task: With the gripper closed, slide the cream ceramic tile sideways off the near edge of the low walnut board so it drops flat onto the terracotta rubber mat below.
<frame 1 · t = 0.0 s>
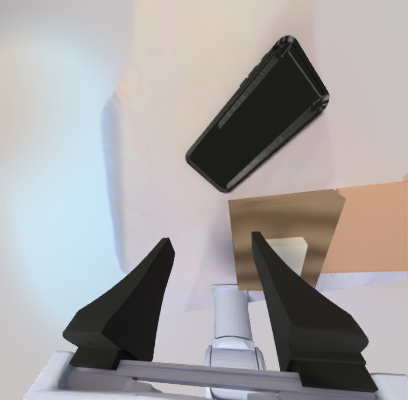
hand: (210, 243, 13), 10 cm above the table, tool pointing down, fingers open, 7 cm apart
tile: (278, 256, 24), point 2 cm above the table, touching butcher block
butcher block: (273, 244, 26), on the table
mat: (378, 233, 23), on the table
phone: (246, 131, 18), on the table
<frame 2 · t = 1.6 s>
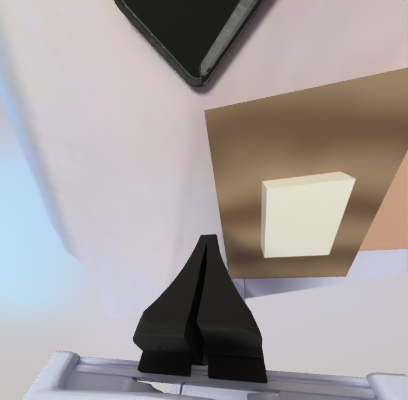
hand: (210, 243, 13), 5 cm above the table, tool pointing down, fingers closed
tile: (293, 215, 14), point 2 cm above the table, touching butcher block
butcher block: (283, 202, 16), on the table
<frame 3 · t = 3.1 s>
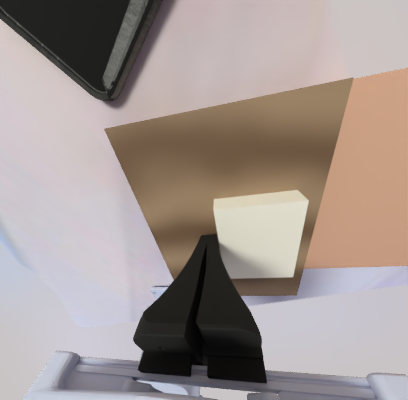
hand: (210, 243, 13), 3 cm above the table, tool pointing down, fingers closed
tile: (254, 234, 13), point 2 cm above the table, touching butcher block, gripper
butcher block: (226, 219, 15), on the table
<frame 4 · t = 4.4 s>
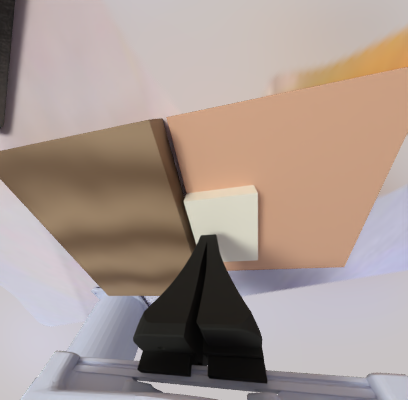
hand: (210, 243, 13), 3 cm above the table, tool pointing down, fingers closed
tile: (224, 223, 15), resting on mat
butcher block: (132, 226, 17), on the table
mat: (273, 206, 14), on the table
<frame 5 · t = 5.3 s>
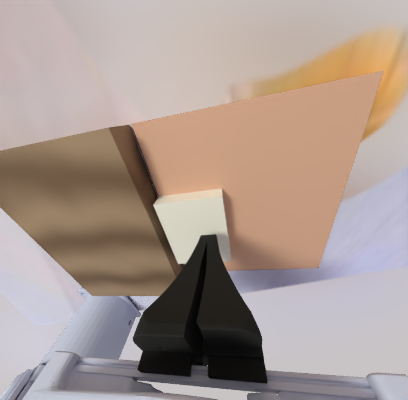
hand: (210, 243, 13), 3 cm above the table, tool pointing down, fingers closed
tile: (198, 225, 15), resting on mat
butcher block: (111, 228, 17), on the table
mat: (245, 209, 15), on the table
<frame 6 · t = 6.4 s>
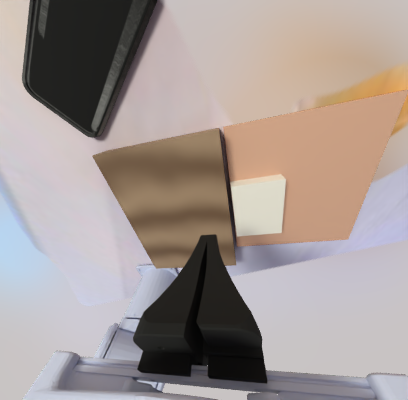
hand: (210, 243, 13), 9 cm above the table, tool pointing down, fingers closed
tile: (255, 205, 20), resting on mat
butcher block: (181, 210, 22), on the table
mat: (294, 190, 19), on the table
phone: (89, 46, 14), on the table
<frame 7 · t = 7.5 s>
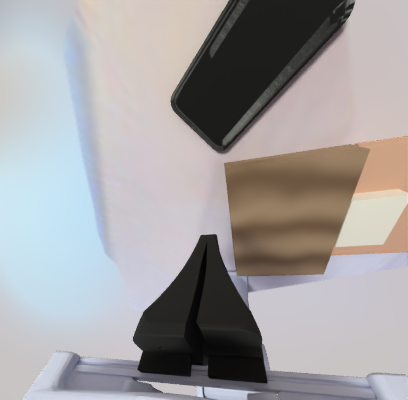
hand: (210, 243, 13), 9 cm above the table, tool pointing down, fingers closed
tile: (359, 217, 20), resting on mat
butcher block: (277, 220, 22), on the table
mat: (402, 204, 19), on the table
phone: (245, 65, 14), on the table
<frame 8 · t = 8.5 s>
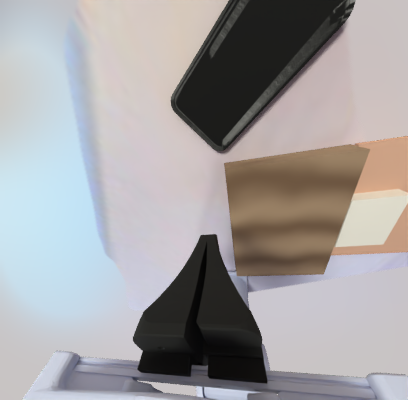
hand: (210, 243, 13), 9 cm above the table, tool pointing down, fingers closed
tile: (359, 217, 20), resting on mat
butcher block: (277, 220, 22), on the table
mat: (402, 204, 19), on the table
phone: (245, 65, 14), on the table
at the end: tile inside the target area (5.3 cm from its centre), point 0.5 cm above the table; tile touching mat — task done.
